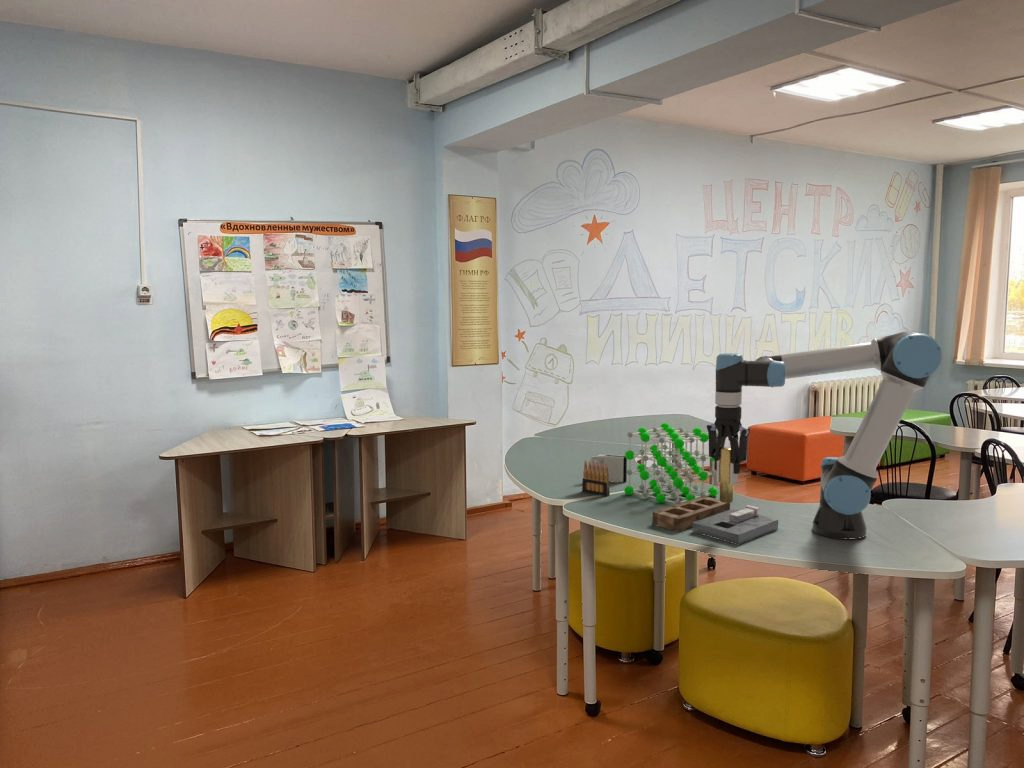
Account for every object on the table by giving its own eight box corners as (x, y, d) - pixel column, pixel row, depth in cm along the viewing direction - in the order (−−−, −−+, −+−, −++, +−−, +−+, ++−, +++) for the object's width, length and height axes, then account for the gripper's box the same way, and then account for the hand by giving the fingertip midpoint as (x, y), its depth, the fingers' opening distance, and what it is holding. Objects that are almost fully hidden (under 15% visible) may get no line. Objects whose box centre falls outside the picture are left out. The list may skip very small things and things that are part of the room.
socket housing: (777, 529, 234) (778, 519, 234) (738, 544, 219) (738, 534, 219) (732, 517, 246) (732, 508, 245) (692, 531, 231) (692, 522, 231)
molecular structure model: (679, 509, 256) (680, 439, 253) (622, 495, 274) (622, 429, 271) (719, 496, 271) (721, 430, 269) (663, 483, 290) (664, 421, 287)
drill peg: (736, 500, 227) (737, 448, 225) (728, 503, 225) (729, 450, 223) (724, 498, 230) (725, 446, 228) (717, 500, 228) (717, 448, 226)
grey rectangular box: (590, 482, 293) (590, 456, 291) (590, 479, 298) (590, 454, 297) (626, 483, 291) (627, 457, 290) (626, 479, 296) (626, 454, 295)
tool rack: (729, 513, 250) (730, 502, 250) (678, 531, 232) (678, 519, 231) (704, 507, 257) (704, 496, 257) (652, 524, 239) (652, 512, 239)
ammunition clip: (581, 491, 278) (582, 460, 277) (584, 490, 280) (584, 459, 278) (607, 496, 272) (607, 464, 271) (609, 495, 273) (610, 463, 272)
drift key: (759, 515, 237) (759, 507, 237) (739, 523, 230) (739, 515, 230) (748, 512, 240) (748, 505, 240) (727, 520, 233) (727, 512, 233)
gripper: (761, 407, 220) (759, 485, 223) (711, 401, 233) (709, 475, 235) (747, 409, 215) (745, 490, 218) (696, 404, 228) (695, 479, 231)
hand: (726, 482), depth 227 cm, fingers closed on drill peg, 4 cm apart
